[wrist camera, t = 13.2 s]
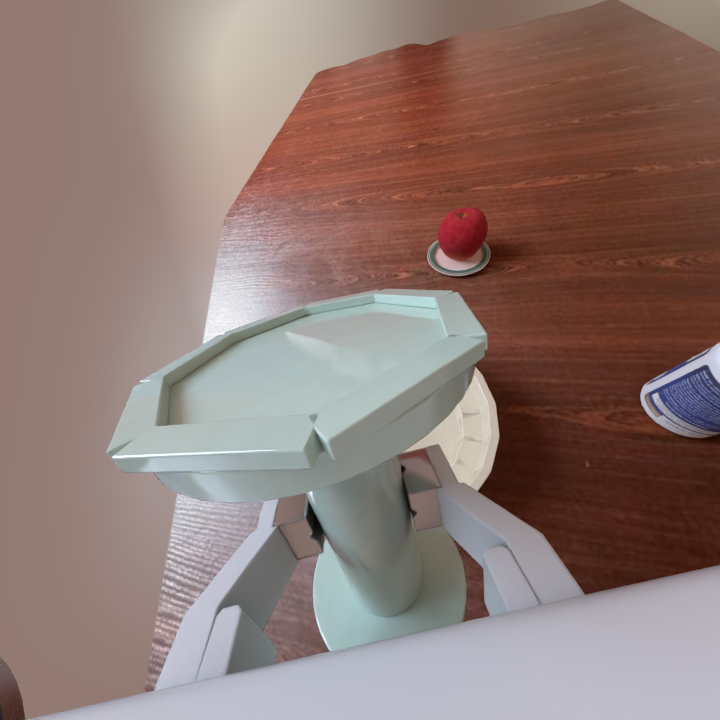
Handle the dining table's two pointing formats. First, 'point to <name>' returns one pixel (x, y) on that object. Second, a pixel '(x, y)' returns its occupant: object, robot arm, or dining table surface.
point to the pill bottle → (687, 396)
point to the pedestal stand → (324, 442)
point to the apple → (460, 243)
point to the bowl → (468, 435)
